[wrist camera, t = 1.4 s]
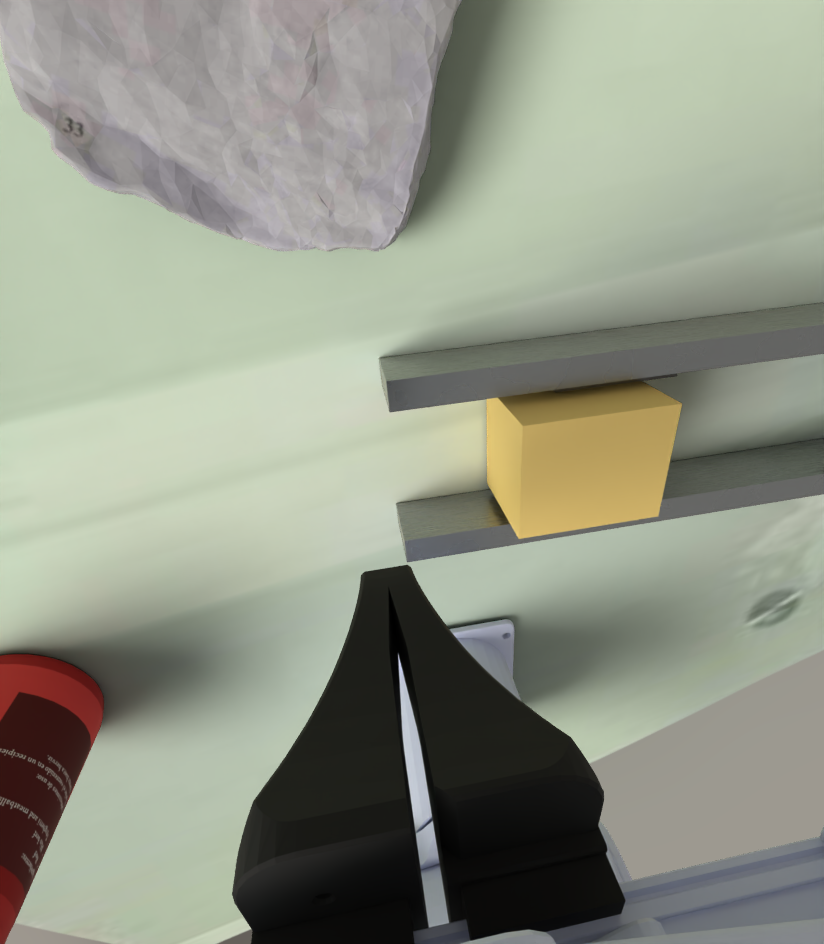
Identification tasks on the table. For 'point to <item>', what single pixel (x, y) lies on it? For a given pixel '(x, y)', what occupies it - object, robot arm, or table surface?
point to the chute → (601, 364)
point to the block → (580, 456)
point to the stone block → (240, 107)
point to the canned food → (38, 762)
